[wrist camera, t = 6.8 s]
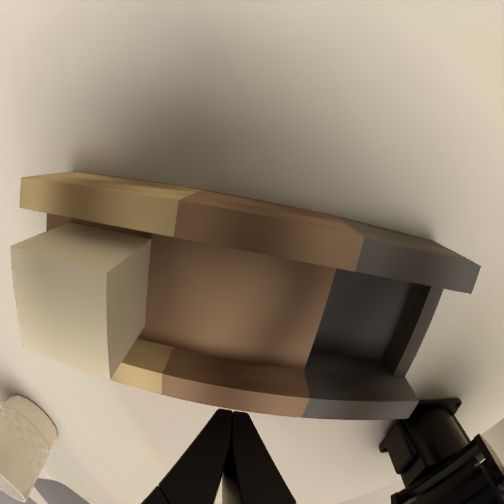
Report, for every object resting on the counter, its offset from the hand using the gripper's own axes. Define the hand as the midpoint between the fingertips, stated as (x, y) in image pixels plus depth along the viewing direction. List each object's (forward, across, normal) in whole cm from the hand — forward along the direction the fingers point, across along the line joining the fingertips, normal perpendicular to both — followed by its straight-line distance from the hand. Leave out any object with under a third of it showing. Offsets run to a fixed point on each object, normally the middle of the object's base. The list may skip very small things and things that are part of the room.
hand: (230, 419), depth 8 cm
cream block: (+8, +8, 0) cm, 11 cm away
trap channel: (+10, 0, 0) cm, 11 cm away
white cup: (+11, +20, +21) cm, 31 cm away
